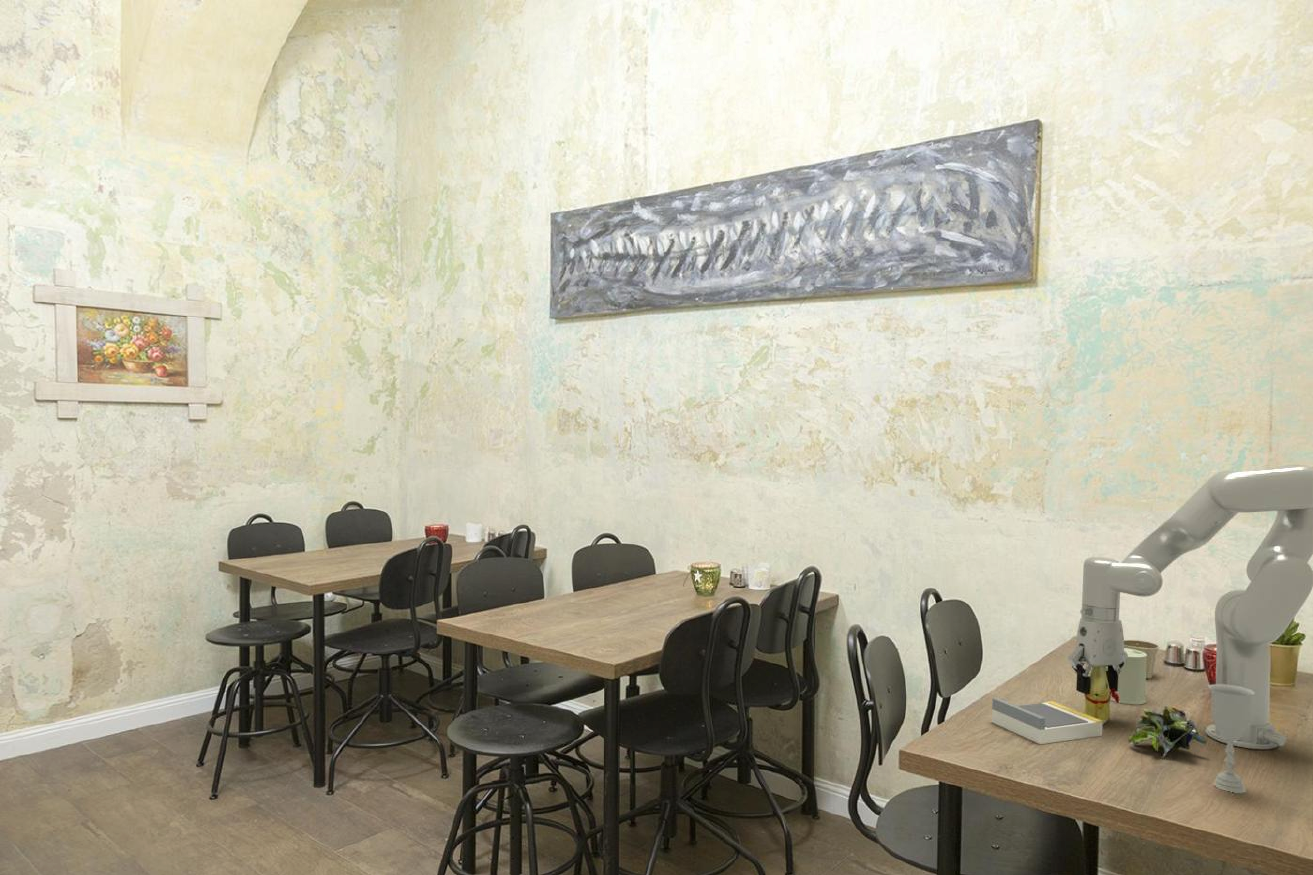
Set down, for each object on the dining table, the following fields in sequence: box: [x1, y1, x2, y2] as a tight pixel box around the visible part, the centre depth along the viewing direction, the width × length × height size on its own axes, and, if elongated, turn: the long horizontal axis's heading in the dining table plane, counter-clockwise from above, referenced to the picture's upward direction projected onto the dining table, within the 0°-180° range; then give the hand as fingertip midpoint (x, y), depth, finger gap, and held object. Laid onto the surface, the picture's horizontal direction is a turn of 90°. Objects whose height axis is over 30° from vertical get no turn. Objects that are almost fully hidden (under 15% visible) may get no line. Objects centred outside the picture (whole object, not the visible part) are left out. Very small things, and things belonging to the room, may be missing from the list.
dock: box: [991, 697, 1103, 745], centre depth 187 cm, size 14×17×5 cm
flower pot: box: [1124, 639, 1160, 680], centre depth 230 cm, size 9×9×9 cm
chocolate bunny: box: [1084, 666, 1119, 726], centre depth 193 cm, size 7×11×15 cm, turn 150°
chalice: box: [1207, 683, 1255, 794], centre depth 157 cm, size 7×7×18 cm
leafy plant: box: [1128, 706, 1208, 760], centre depth 174 cm, size 11×11×12 cm
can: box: [1106, 648, 1147, 706], centre depth 210 cm, size 9×9×12 cm
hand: (1096, 690), depth 193 cm, fingers closed on chocolate bunny, 7 cm apart
